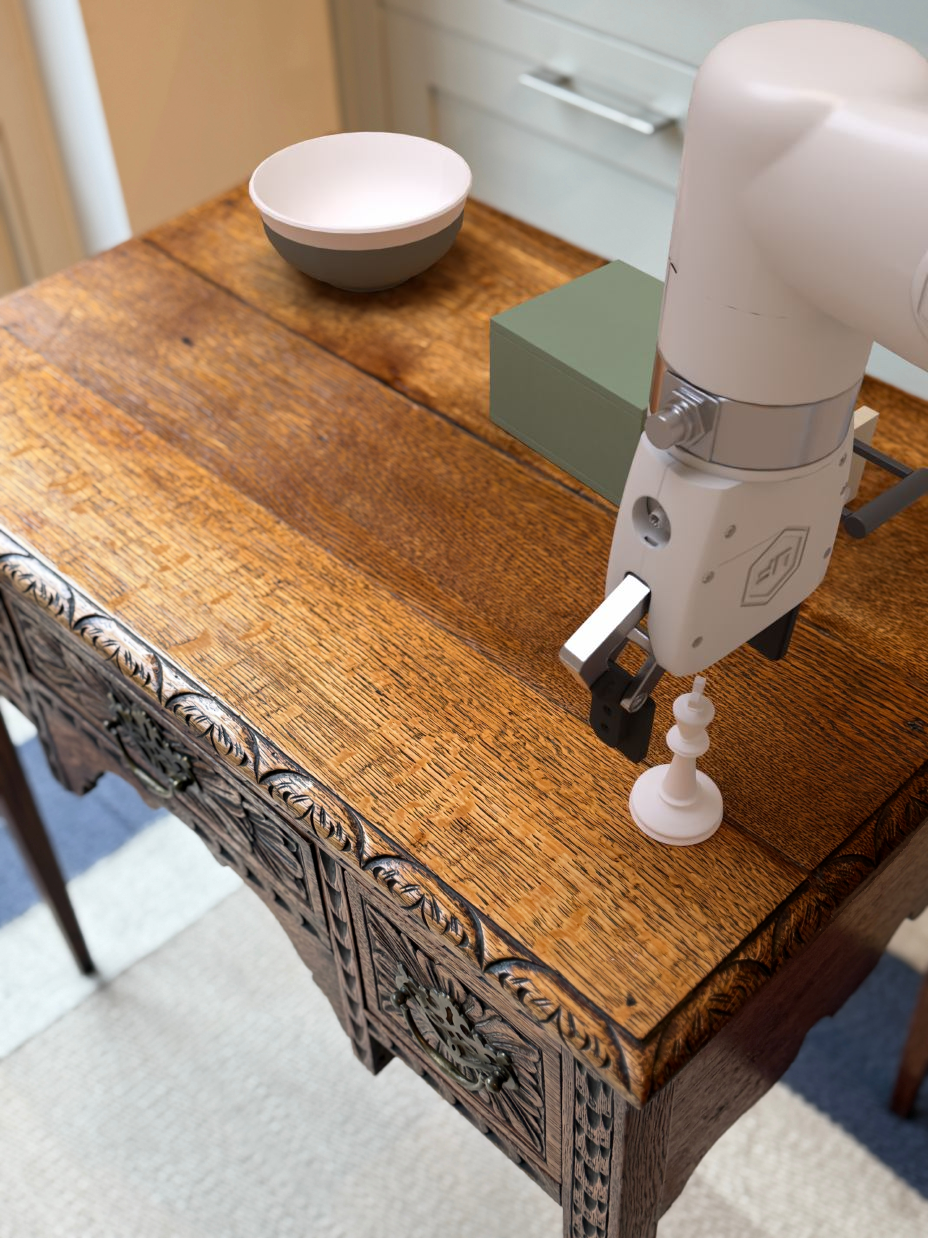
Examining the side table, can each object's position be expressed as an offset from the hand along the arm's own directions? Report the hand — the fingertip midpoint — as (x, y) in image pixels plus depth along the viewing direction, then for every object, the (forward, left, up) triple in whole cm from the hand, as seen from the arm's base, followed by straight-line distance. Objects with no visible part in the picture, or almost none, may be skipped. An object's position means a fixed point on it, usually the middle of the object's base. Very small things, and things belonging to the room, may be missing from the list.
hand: (689, 691), depth 56 cm
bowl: (+41, -46, -9) cm, 62 cm away
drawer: (+1, -25, -8) cm, 26 cm away
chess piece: (0, 0, -9) cm, 9 cm away
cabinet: (+13, -31, -9) cm, 35 cm away
